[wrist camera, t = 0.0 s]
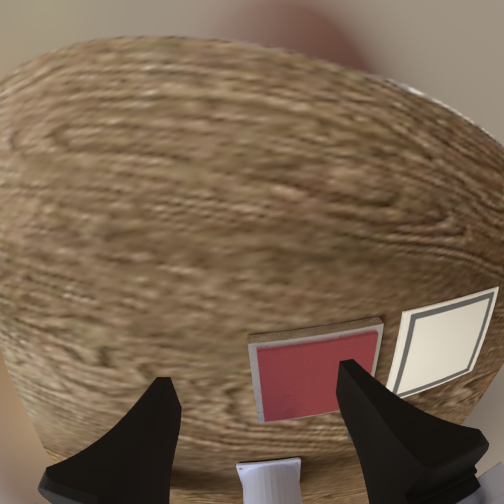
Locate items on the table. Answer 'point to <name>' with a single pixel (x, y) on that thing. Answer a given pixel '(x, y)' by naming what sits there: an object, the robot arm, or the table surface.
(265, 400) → the ink pad
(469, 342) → the paper card
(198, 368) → the table surface
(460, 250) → the table surface
